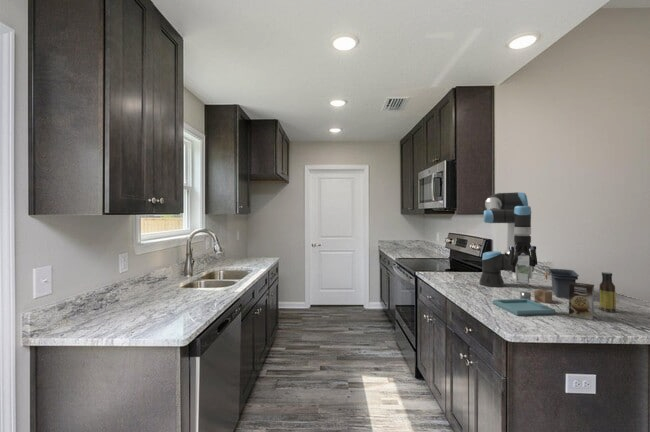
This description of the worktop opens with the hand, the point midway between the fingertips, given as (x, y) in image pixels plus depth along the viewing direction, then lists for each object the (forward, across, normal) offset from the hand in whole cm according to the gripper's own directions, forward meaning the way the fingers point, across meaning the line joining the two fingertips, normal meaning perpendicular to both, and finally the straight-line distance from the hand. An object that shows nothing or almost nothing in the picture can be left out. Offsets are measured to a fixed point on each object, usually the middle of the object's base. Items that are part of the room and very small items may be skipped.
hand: (522, 278), depth 168 cm
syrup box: (+2, 0, 0) cm, 2 cm away
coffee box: (+17, +20, -14) cm, 29 cm away
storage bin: (+16, +43, +25) cm, 53 cm away
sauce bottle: (+16, +41, -7) cm, 45 cm away
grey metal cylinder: (+16, +12, +14) cm, 25 cm away
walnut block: (+16, +22, +13) cm, 31 cm away
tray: (+16, 0, 0) cm, 16 cm away
